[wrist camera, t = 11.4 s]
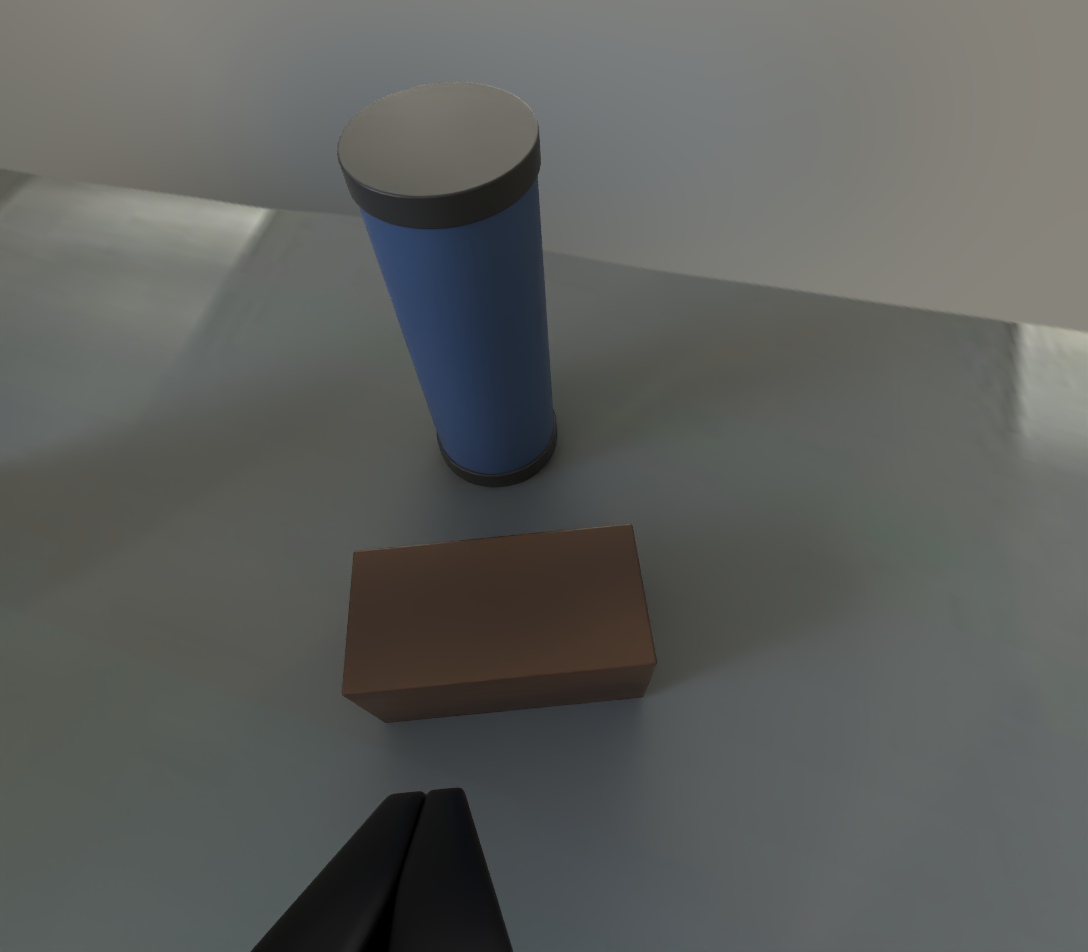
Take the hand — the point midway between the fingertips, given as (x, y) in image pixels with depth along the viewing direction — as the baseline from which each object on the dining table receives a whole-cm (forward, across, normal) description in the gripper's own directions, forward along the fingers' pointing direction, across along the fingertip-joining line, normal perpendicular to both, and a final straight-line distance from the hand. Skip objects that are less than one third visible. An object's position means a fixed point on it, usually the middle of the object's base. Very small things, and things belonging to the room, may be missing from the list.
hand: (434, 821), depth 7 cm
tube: (+14, 0, -5) cm, 15 cm away
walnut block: (+12, 0, +5) cm, 13 cm away
